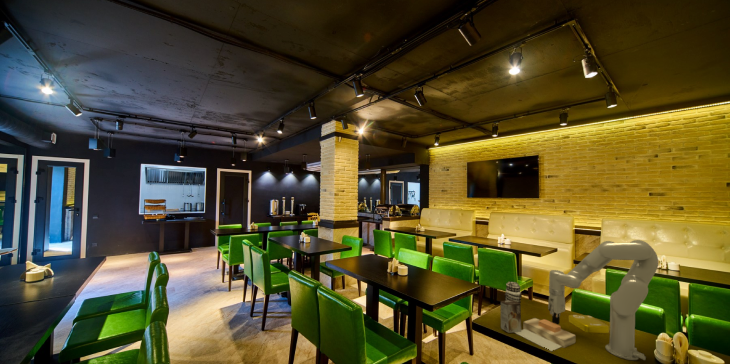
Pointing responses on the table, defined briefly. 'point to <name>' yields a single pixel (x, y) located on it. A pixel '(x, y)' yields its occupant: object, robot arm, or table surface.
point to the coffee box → (510, 316)
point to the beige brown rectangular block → (550, 333)
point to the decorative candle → (513, 292)
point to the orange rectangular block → (549, 325)
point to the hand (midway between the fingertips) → (555, 323)
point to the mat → (538, 339)
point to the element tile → (588, 324)
